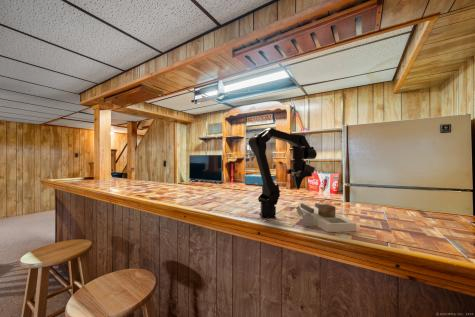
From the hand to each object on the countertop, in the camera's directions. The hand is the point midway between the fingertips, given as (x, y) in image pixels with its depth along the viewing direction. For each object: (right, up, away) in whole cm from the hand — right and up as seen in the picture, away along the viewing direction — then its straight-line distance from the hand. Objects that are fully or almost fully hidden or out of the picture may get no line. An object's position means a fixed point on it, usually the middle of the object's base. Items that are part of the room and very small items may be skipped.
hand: (298, 189), depth 106 cm
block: (+7, -9, -18) cm, 21 cm away
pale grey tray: (+7, -12, -14) cm, 20 cm away
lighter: (-4, -12, -21) cm, 24 cm away
